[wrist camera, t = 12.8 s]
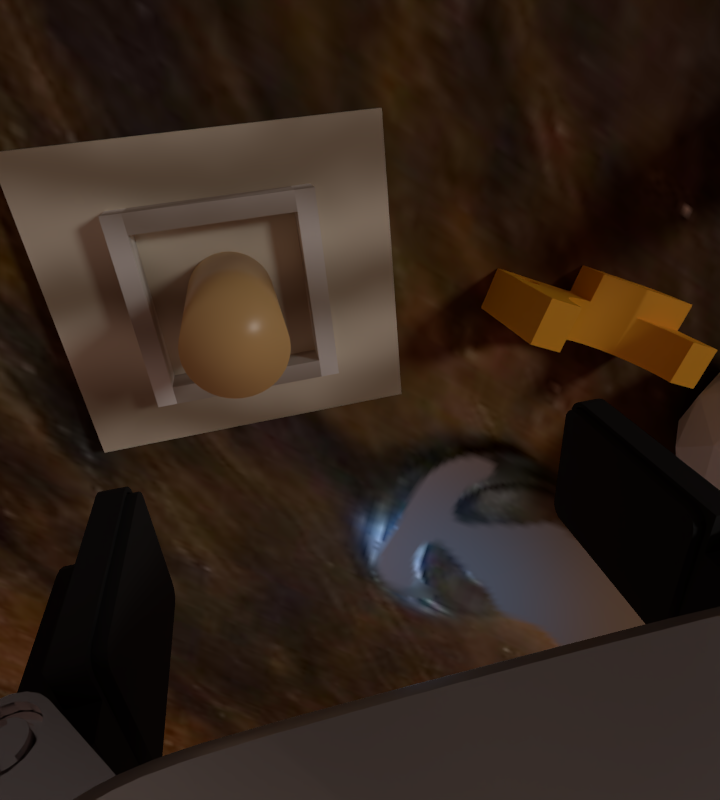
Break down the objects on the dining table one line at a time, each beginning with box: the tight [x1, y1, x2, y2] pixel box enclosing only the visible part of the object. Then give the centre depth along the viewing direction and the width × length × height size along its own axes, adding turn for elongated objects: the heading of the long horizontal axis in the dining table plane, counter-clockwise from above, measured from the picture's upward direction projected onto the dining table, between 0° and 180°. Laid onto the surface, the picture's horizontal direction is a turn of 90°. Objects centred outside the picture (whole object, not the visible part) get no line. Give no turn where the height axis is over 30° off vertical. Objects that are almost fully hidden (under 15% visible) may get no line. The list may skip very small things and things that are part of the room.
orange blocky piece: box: [481, 265, 717, 389], centre depth 33 cm, size 12×4×6 cm, turn 71°
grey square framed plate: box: [0, 108, 401, 453], centre depth 29 cm, size 16×18×3 cm
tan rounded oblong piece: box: [178, 252, 291, 399], centre depth 26 cm, size 4×4×8 cm
